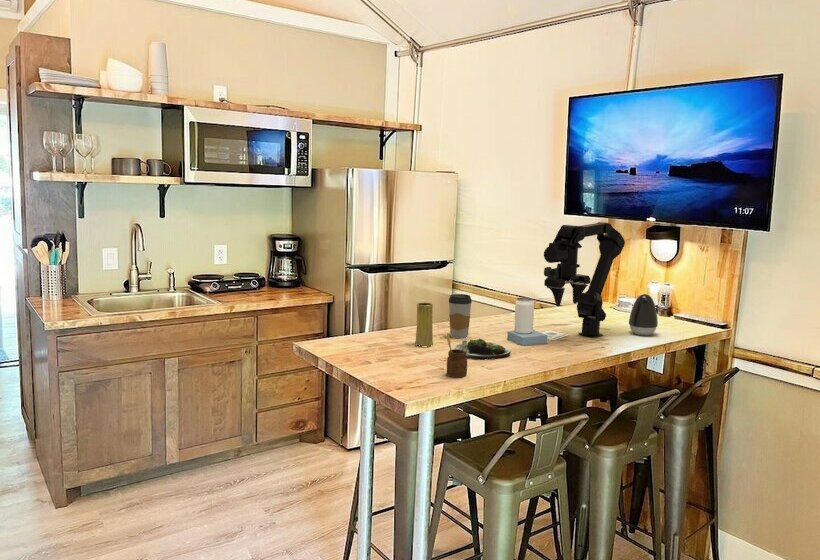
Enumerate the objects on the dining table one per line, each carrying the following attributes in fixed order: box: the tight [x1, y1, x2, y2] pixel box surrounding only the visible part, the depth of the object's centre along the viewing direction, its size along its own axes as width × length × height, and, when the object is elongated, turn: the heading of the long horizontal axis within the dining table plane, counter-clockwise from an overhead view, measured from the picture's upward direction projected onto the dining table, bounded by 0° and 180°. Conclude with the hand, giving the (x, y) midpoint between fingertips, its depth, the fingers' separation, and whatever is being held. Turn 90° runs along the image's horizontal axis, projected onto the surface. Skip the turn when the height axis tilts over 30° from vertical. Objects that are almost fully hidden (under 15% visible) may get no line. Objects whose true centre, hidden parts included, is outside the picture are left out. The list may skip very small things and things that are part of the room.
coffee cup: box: [448, 293, 473, 339], centre depth 232 cm, size 8×8×15 cm
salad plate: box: [454, 338, 511, 361], centre depth 213 cm, size 19×18×5 cm
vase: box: [414, 302, 434, 347], centre depth 220 cm, size 6×6×14 cm
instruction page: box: [541, 330, 570, 341], centre depth 237 cm, size 12×9×1 cm
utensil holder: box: [445, 333, 469, 378], centre depth 187 cm, size 6×6×12 cm
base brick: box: [506, 329, 548, 347], centre depth 228 cm, size 10×10×3 cm
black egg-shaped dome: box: [628, 293, 659, 336], centre depth 241 cm, size 10×10×15 cm
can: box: [513, 297, 535, 334], centre depth 228 cm, size 6×6×12 cm
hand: (566, 304), depth 228 cm, fingers open, 9 cm apart
